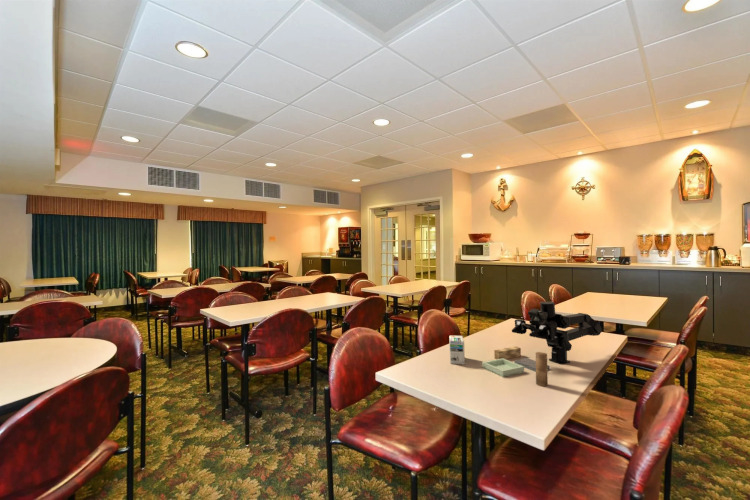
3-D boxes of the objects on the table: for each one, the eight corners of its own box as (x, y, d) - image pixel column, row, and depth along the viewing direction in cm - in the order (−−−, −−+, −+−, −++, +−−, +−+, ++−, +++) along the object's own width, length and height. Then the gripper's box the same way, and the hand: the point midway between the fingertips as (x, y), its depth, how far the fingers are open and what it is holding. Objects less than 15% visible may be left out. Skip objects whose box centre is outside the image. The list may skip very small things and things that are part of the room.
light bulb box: (464, 364, 150) (464, 341, 150) (449, 363, 151) (449, 340, 151) (463, 357, 161) (463, 335, 161) (449, 356, 162) (449, 334, 162)
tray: (502, 363, 150) (502, 358, 150) (524, 372, 139) (524, 366, 139) (482, 367, 146) (482, 362, 146) (502, 377, 135) (502, 371, 135)
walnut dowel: (541, 381, 130) (540, 351, 130) (549, 385, 126) (549, 354, 126) (533, 383, 128) (533, 352, 128) (542, 387, 124) (542, 355, 124)
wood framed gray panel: (526, 362, 154) (526, 357, 154) (549, 370, 143) (549, 365, 143) (514, 364, 151) (514, 360, 151) (536, 373, 140) (536, 368, 140)
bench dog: (515, 354, 164) (515, 346, 164) (520, 356, 161) (520, 348, 161) (494, 358, 158) (494, 350, 158) (499, 360, 155) (499, 351, 155)
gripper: (525, 305, 157) (501, 312, 150) (562, 310, 140) (537, 317, 133) (528, 328, 157) (504, 335, 150) (565, 336, 140) (540, 344, 133)
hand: (520, 333), depth 142 cm, fingers open, 9 cm apart
